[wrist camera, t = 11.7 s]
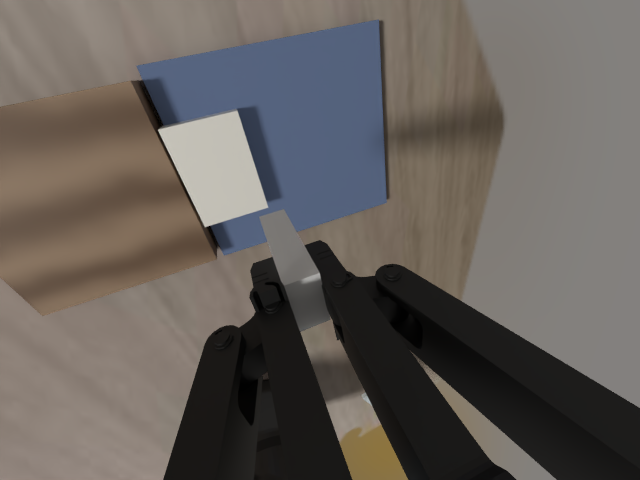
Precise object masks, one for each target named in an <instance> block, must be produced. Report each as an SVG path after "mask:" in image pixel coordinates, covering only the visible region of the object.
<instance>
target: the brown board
mask: <svg viewBox="0 0 640 480" xmlns="http://www.w3.org/2000/svg"><path fill="white" fill-rule="evenodd" d="M160 127H161V126H160V124H159V122H158V120H157V118H156V116H155V113H154V111H153V109H152V107H151V105H150V103H149V101H148V99H147V96H146V94H145V92H144V90H143V88H142V86H141V84H140V81H128V82H123V83H118V84H113V85H108V86H103V87H98V88H93V89H88V90H83V91H78V92H72V93H67V94H62V95H57V96H52V97H47V98H42V99H37V100H32V101H27V102H22V103H17V104H12V105H7V106H2V107H0V277H1V278H2V279H3V280H4V281H5V282H6V283H7V284H8V285H9V286H10V287H11V288H13V289H14V290H15V291H16V292H17V293H18V294H19V295H20V296H21V297H22V298H23V299H25V300H26V301H27V302H28V303H29V304H30V305H31V306H32V307H33V308H34V309H35V310H37V311H38V312H39V313H40V314H41V315H42V316H44V315H47V314H50V313H53V312H57V311H60V310H63V309H66V308H69V307H72V306H75V305H78V304H81V303H84V302H87V301H90V300H93V299H96V298H100V297H103V296H106V295H109V294H112V293H115V292H118V291H121V290H124V289H127V288H130V287H133V286H136V285H139V284H143V283H146V282H149V281H152V280H155V279H158V278H161V277H164V276H167V275H170V274H173V273H176V272H179V271H182V270H185V269H189V268H192V267H195V266H198V265H201V264H204V263H207V262H210V261H213V260H216V259H217V246H216V244H215V241H214V239H213V237H212V235H211V233H210V231H209V229H208V226H207V227H205V226H204V224H203V222H202V220H201V218H200V216H199V214H198V212H197V210H196V208H195V206H194V204H193V202H192V199H191V197H190V195H189V193H188V191H187V189H186V187H185V185H184V183H183V181H182V179H181V177H180V175H179V173H178V171H177V168H176V166H175V164H174V162H173V160H172V158H171V156H170V154H169V152H168V150H167V148H166V146H165V144H164V142H163V140H162V138H161V135H160V133H159V131H158V129H159V128H160Z"/></svg>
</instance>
